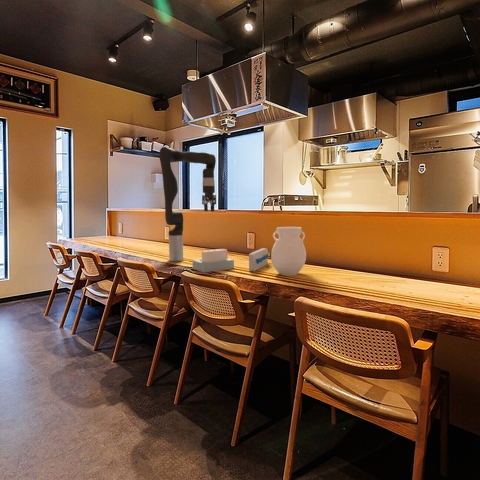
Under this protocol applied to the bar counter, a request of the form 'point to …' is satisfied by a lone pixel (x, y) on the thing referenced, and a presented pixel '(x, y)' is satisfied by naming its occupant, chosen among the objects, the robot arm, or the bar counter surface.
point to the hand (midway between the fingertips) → (209, 211)
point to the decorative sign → (258, 259)
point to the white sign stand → (214, 255)
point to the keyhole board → (212, 265)
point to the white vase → (288, 250)
